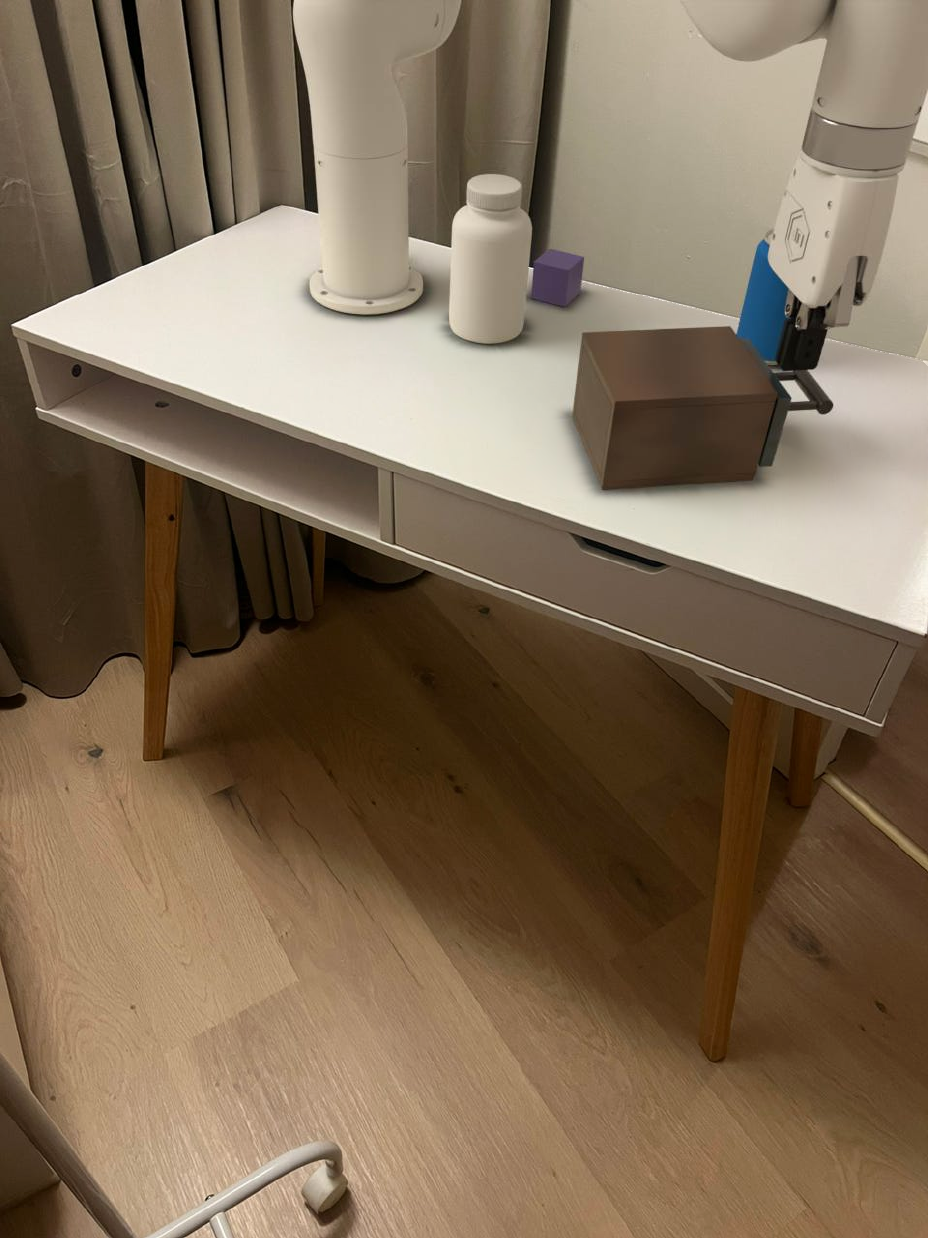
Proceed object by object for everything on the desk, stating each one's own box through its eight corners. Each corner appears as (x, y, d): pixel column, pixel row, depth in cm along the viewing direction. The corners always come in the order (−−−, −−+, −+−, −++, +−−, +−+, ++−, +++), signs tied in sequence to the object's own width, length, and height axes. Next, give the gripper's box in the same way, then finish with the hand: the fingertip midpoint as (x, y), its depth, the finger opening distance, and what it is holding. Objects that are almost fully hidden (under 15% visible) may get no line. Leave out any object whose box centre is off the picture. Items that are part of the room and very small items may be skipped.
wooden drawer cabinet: (711, 409, 95) (730, 325, 89) (753, 480, 86) (778, 392, 80) (571, 417, 93) (581, 331, 87) (601, 489, 85) (615, 401, 79)
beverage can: (801, 346, 104) (834, 233, 96) (789, 374, 100) (822, 258, 92) (741, 333, 106) (767, 220, 98) (726, 359, 102) (753, 244, 94)
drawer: (785, 401, 94) (804, 334, 90) (829, 463, 87) (852, 394, 82) (603, 410, 92) (613, 343, 88) (633, 475, 85) (645, 405, 80)
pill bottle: (517, 350, 102) (528, 202, 92) (441, 340, 103) (443, 192, 93) (529, 315, 108) (541, 172, 97) (457, 306, 109) (461, 164, 98)
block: (530, 298, 111) (533, 261, 108) (546, 284, 114) (550, 248, 111) (564, 307, 109) (568, 270, 107) (580, 292, 112) (584, 256, 109)
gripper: (771, 109, 78) (724, 327, 90) (851, 177, 67) (786, 413, 80) (861, 108, 79) (802, 323, 91) (955, 174, 68) (874, 408, 81)
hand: (795, 365), depth 85 cm, fingers closed
